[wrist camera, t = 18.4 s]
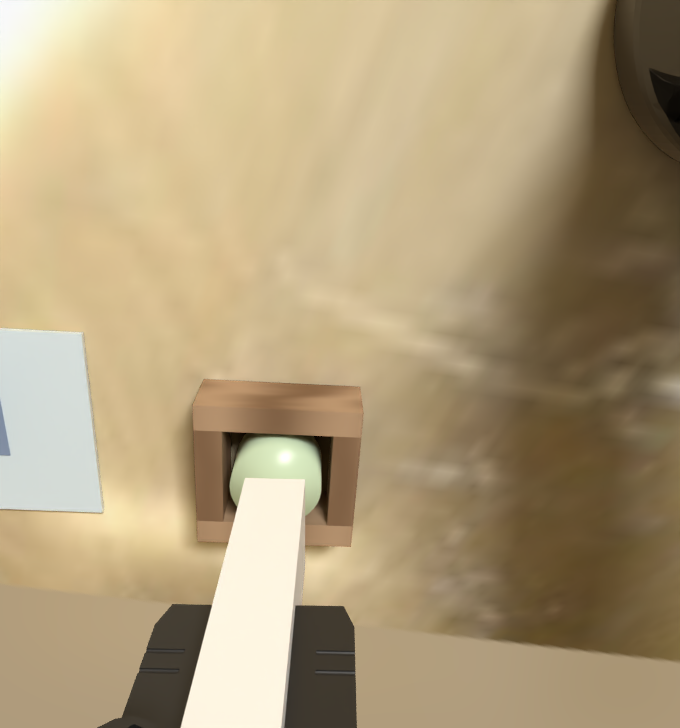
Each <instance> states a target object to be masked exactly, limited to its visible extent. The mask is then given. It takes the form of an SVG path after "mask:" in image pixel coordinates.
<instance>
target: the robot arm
mask: <svg viewBox="0 0 680 728" xmlns="http://www.w3.org/2000/svg"><path fill="white" fill-rule="evenodd" d="M614 49H615V60H616V67H617V73H618V77H619V82H620V85H621V89H622V92H623V95H624V97H625V100H626V103H627V105H628V107H629V109H630V111H631V113H632V115H633V117H634V119H635V120H636V122H637V123H638V125H639V126H640V128H641V129H642V131H643V132H644V133H645V134H646V136H647V137H648V138H649V139H650V140H651V141H652V142H653V143H654V144H655V145H656V146H657V147H658V148H659V149H660V150H662V151H663V152H664V153H666V154H667V155H668V156H670V157H671V158H673V159H675V160H676V161H678V162H680V0H617V5H616V13H615V25H614ZM304 571H305V479H269V478H245V480H244V484H243V488H242V492H241V496H240V500H239V504H238V508H237V511H236V515H235V519H234V523H233V527H232V531H231V535H230V538H229V542H228V546H227V550H226V554H225V558H224V562H223V566H222V569H221V573H220V577H219V581H218V585H217V589H216V593H215V597H214V600H213V604H212V605H185V604H172V606H171V607H170V608H169V609H168V611H166V613H165V614H164V615H163V616H162V617H161V618H160V620H159V621H158V622H157V623H156V624H155V626H154V629H153V632H152V635H151V638H150V640H149V643H148V646H147V651H146V653H145V654H144V657H143V660H142V663H141V665H140V671H139V673H138V674H137V676H136V680H135V682H134V685H133V688H132V690H131V693H130V697H129V699H128V702H127V705H126V707H125V710H124V713H123V716H122V718H118V719H114V720H112V721H110V722H108V723H106V724H104V725H102V726H100V727H98V728H357V724H356V723H357V721H356V682H355V681H356V680H355V642H354V641H355V640H354V639H355V638H354V626H353V624H352V622H351V620H350V618H349V616H348V614H347V612H346V610H345V608H344V606H302V596H303V583H304Z"/></svg>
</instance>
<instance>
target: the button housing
mask: <svg viewBox="0 0 680 728" xmlns="http://www.w3.org/2000/svg"><path fill="white" fill-rule="evenodd" d="M192 408H193V434H194V460H195V486H196V512H197V537H198V541H199V542H227V543H228V542H229V538H230V535H231V531H232V527H233V523H234V519H235V515H236V511H237V508H238V507H237V506H236V504H235V503H234V501H233V499H232V496H231V493H230V479H231V432H242V433H265V434H287V435H310V436H331V439H330V453H329V468H328V482H327V492H321V495H320V498H319V501H318V503H317V505H316V506H315V507H314V509H313V510H312V511H311V512H310V513H309V514H308V515H306V516H305V545H314V546H343V547H351V540H352V530H353V519H354V509H355V498H356V487H357V477H358V466H359V456H360V445H361V435H362V424H363V414H364V413H363V406H362V398H361V390H360V387H352V386H331V385H311V384H290V383H270V382H249V381H229V380H209V379H204V380H203V382H202V385H201V387H200V389H199V391H198V394H197V396H196V398H195V401H194V403H193V405H192Z"/></svg>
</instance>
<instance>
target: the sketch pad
mask: <svg viewBox="0 0 680 728" xmlns="http://www.w3.org/2000/svg"><path fill="white" fill-rule="evenodd" d="M0 509H17V510H44V511H71V512H98V513H103V511H104V505H103V496H102V487H101V479H100V470H99V462H98V453H97V445H96V436H95V428H94V419H93V410H92V402H91V393H90V385H89V376H88V368H87V359H86V351H85V342H84V333H83V332H65V331H46V330H27V329H8V328H0Z"/></svg>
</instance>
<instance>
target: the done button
mask: <svg viewBox="0 0 680 728" xmlns="http://www.w3.org/2000/svg"><path fill="white" fill-rule="evenodd" d="M245 478H269V479H305V516H306V515H308V514H309V513H310V512H311V511H312V510H313V509H314V507H315V506H316V505H317V503H318V501H319V498H320V495H321V450H320V447H319V445H318V443H317V441H316V439H315V438H314V437H313V436H310V435H287V434H265V433H247V434H246V435H245V436H244V437H243V438H242V440H241V442H240V444H239V447H238V451H237V455H236V459H235V463H234V467H233V471H232V475H231V479H230V493H231V496H232V499H233V501H234V503H235V504H236V506H237V507H238V504H239V500H240V496H241V492H242V488H243V484H244V480H245Z"/></svg>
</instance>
